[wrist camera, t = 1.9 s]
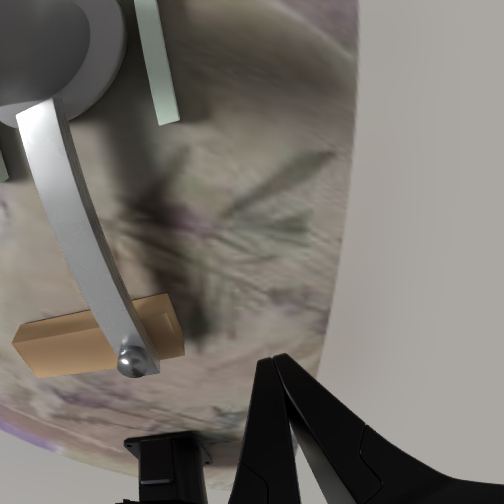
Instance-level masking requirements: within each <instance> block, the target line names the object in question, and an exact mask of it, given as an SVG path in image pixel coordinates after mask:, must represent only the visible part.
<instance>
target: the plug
mask: <svg viewBox="0 0 504 504" xmlns="http://www.w3.org/2000/svg"><path fill="white" fill-rule="evenodd" d="M127 35H128V33H127V23H126V19H125V16H124V13H123V11H122V9H121V7H120V5H119V4H118V2H117V1H116V0H0V121H1V122H2V123H4V124H6V125H8V126H10V127H13V128H17V129H19V126H18V122H17V118H16V115H18V114H19V113H21V112H23V111H25V110H27V109H29V108H32V107H34V106H36V105H38V104H40V103H42V102H44V101H46V100H49V99H51V98H57V97H62V98H63V102H64V107H65V111H66V115H67V119H68V121H69V120H71V119H73V118H75V117H77V116H79V115H80V114H82V113H84V112H85V111H86V110H88V109H89V108H90V107H92V106H93V105H94V104H95V103H96V102H97V101H98V100H99V99H100V98H101V97H102V96H103V95H104V94H105V92H106V91H107V90H108V89H109V87H110V86H111V84H112V83H113V81H114V80H115V78H116V76H117V74H118V72H119V70H120V68H121V65H122V63H123V60H124V56H125V53H126V47H127Z"/></svg>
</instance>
